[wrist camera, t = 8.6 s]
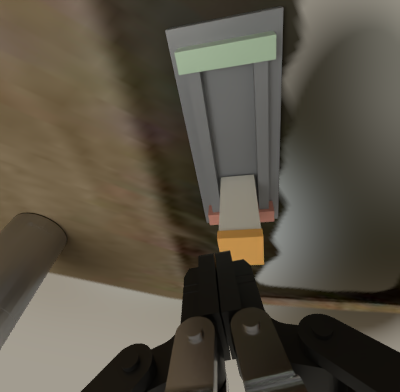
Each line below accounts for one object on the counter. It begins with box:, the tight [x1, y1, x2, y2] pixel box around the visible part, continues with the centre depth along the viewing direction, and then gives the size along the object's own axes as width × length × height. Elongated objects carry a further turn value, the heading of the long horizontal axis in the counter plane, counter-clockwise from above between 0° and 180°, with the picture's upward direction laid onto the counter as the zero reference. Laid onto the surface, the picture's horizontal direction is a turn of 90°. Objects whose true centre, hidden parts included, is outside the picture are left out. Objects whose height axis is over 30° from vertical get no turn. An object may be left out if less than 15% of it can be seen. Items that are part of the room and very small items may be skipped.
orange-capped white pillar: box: [217, 174, 264, 265], centre depth 29 cm, size 4×4×10 cm
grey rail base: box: [165, 6, 283, 225], centre depth 29 cm, size 24×10×4 cm, turn 10°
